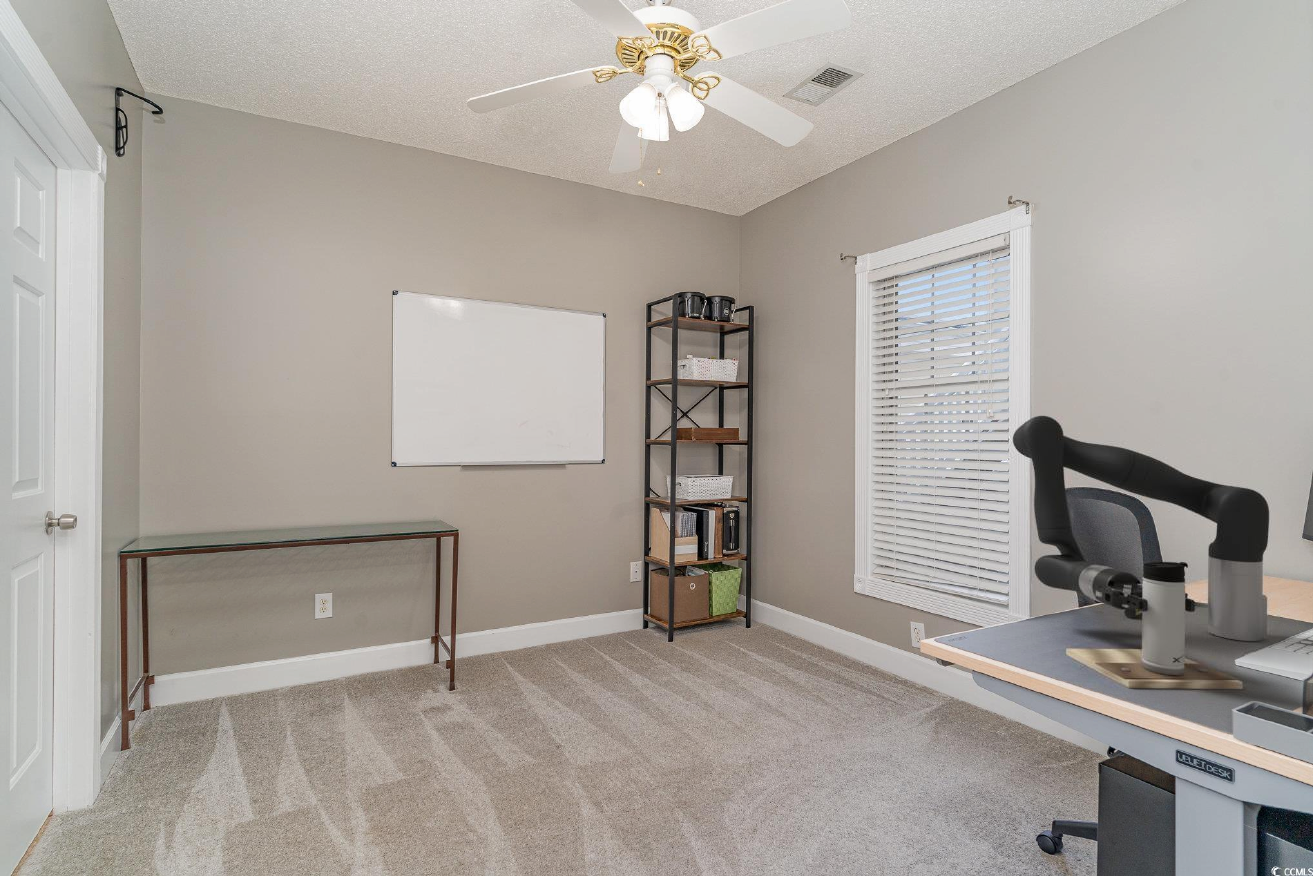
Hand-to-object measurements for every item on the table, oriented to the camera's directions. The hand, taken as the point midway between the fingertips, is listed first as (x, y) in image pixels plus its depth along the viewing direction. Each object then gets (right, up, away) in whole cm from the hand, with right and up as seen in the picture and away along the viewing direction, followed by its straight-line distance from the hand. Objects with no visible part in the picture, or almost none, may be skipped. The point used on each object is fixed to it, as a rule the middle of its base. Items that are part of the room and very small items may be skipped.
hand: (1169, 606), depth 121 cm
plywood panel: (0, -13, +5) cm, 14 cm away
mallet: (+33, -14, +51) cm, 62 cm away
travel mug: (0, -12, +1) cm, 12 cm away
